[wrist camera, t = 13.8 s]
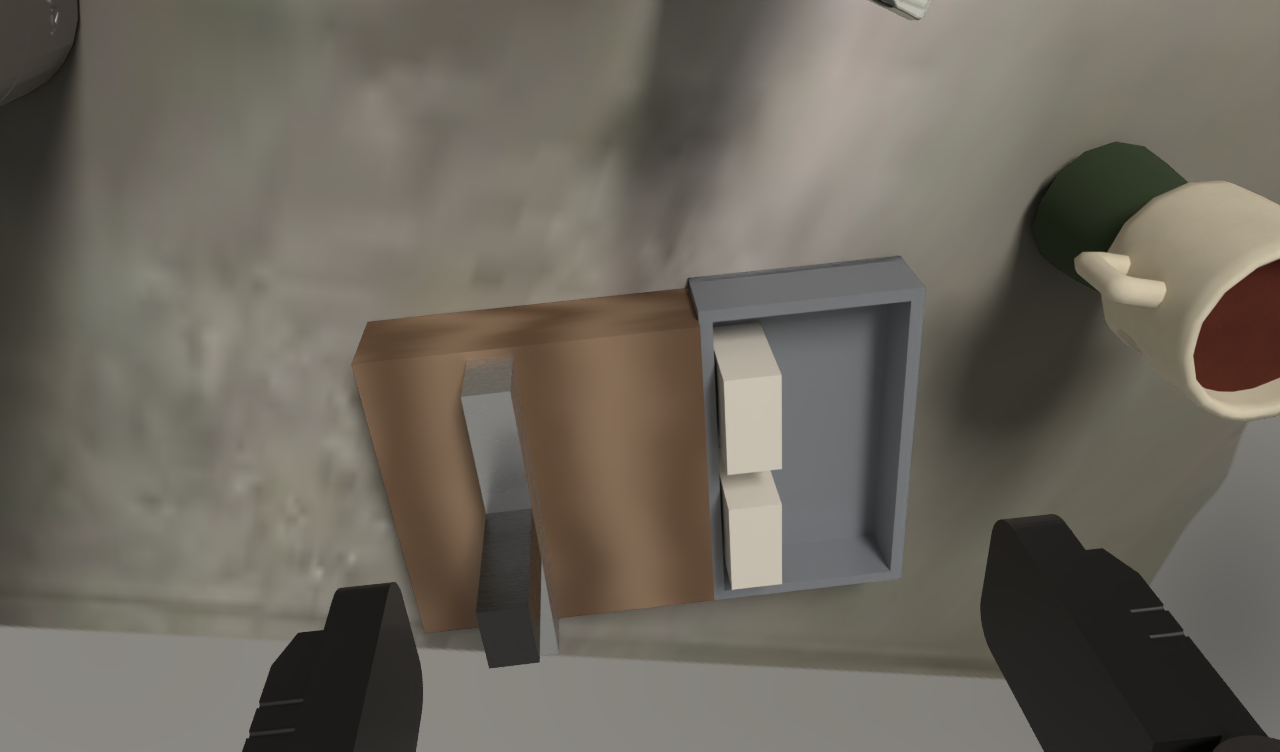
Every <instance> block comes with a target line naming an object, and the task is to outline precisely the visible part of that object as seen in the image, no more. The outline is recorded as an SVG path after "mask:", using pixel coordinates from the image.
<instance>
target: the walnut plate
mask: <svg viewBox="0 0 1280 752" xmlns="http://www.w3.org/2000/svg"><path fill="white" fill-rule="evenodd" d="M512 355H513V357H514V363H515V368H516V374H517V380H518V385H519V391H520V396H521V402H522V407H523V413H524V418H525V424H526V430H527V435H528V441H529V446H530V452H531V457H532V463H533V468H534V474H535V480H536V485H537V491H538V496H539V502H540V507H541V513H542V519H543V524H544V530H545V535H546V541H547V546H548V552H549V557H550V563H551V569H552V574H553V580H554V585H555V591H556V596H557V602H558V607H559V618H564V617H572V616H581V615H590V614H598V613H607V612H616V611H624V610H633V609H642V608H650V607H659V606H668V605H677V604H685V603H694V602H703V601H711V600H714V581H713V562H712V543H711V524H710V505H709V485H708V466H707V447H706V428H705V409H704V390H703V370H702V351H701V332H700V324H699V321H698V318H697V314H696V311H695V307H694V304H693V301H692V297H691V294H690V290H689V288H684V289H675V290H665V291H656V292H646V293H637V294H627V295H618V296H609V297H599V298H590V299H580V300H571V301H561V302H552V303H542V304H533V305H524V306H514V307H505V308H495V309H486V310H476V311H467V312H458V313H448V314H439V315H429V316H420V317H410V318H401V319H391V320H382V321H373V322H368V323H367V325H366V328H365V330H364V333H363V335H362V338H361V341H360V343H359V346H358V348H357V351H356V354H355V356H354V359H353V361H352V364H351V365H352V369H353V372H354V376H355V380H356V383H357V387H358V391H359V394H360V398H361V402H362V405H363V409H364V413H365V416H366V420H367V423H368V427H369V431H370V434H371V438H372V442H373V445H374V449H375V453H376V456H377V460H378V464H379V467H380V471H381V475H382V478H383V482H384V485H385V489H386V493H387V496H388V500H389V504H390V507H391V511H392V515H393V518H394V522H395V526H396V529H397V533H398V536H399V540H400V544H401V547H402V551H403V555H404V558H405V562H406V566H407V569H408V573H409V577H410V580H411V584H412V588H413V591H414V595H415V598H416V602H417V606H418V609H419V613H420V617H421V620H422V624H423V628H424V631H425V633H434V632H442V631H451V630H460V629H468V628H477V627H479V624H478V620H477V616H476V607H477V598H478V588H479V578H480V569H481V559H482V549H483V539H484V530H485V520H486V511H485V506H484V502H483V497H482V492H481V488H480V483H479V479H478V474H477V469H476V465H475V460H474V456H473V451H472V447H471V442H470V437H469V433H468V428H467V424H466V419H465V415H464V410H463V405H462V401H461V392H462V386H463V380H464V374H465V369H466V363H467V361H468V360H477V359H486V358H495V357H503V356H512Z"/></svg>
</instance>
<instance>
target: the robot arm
mask: <svg viewBox="0 0 1280 752" xmlns="http://www.w3.org/2000/svg"><path fill="white" fill-rule="evenodd" d="M77 21H78V9H77V0H0V107H1V106H3V105H5V104H7V103H9V102H11V101H13V100H15V99H17V98H19V97H21V96H23V95H25V94H27V93H29V92H31V91H33V90H34V89H36V88H37V87H39V86H40V85H42V84H43V83H45V82H47V81H48V80H49V79H50V78H51V77H52V76H53V75H54V74H55V73H56V71H57V70H58V69H59V68H60V67H61V66H62V65H63V63H64V62H65V60H66V57H67V55H68V53H69V51H70V49H71V47H72V45H73V42H74V37H75V32H76V26H77ZM980 611H981V622H982V627H983V631H984V635H985V638H986V642H987V644H988V647H989V649H990V651H991V653H992V655H993V657H994V658H995V660H996V662H997V664H998V666H999V668H1000V670H1001V672H1002V673H1003V675H1004V677H1005V679H1006V681H1007V683H1008V685H1009V686H1010V688H1011V690H1012V692H1013V694H1014V696H1015V698H1016V700H1017V701H1018V703H1019V705H1020V707H1021V709H1022V711H1023V713H1024V715H1025V717H1026V718H1027V720H1028V722H1029V724H1030V726H1031V728H1032V730H1033V732H1034V734H1035V735H1036V737H1037V739H1038V741H1039V743H1040V745H1041V746H1042V749H1043V750H1044V752H1280V740H1279V739H1275V738H1270V737H1268V736H1267V735H1266V733H1265V732H1264V731H1263V730H1262V729H1261V727H1260V726H1259V725H1258V724H1257V722H1256V721H1255V720H1254V719H1253V717H1252V716H1251V715H1250V713H1249V712H1248V711H1247V710H1246V708H1245V707H1244V706H1243V705H1242V703H1241V702H1240V701H1239V699H1238V698H1237V697H1236V696H1235V695H1234V693H1233V692H1232V691H1231V689H1230V688H1229V687H1228V686H1227V684H1226V683H1225V682H1224V681H1223V679H1222V678H1221V677H1220V675H1219V674H1218V673H1217V672H1216V671H1215V669H1214V668H1213V667H1212V665H1211V664H1210V663H1209V661H1208V660H1207V659H1206V658H1205V657H1204V655H1203V654H1202V653H1201V651H1200V650H1199V649H1198V648H1197V646H1196V645H1195V644H1194V643H1193V641H1192V640H1191V639H1190V637H1185V635H1184V633H1183V629H1182V627H1181V626H1180V625H1179V624H1178V622H1177V621H1176V620H1175V619H1174V617H1173V616H1172V615H1171V614H1170V612H1169V611H1165V610H1164V608H1163V603H1162V602H1161V601H1160V600H1159V598H1158V597H1157V596H1156V594H1155V593H1154V592H1153V591H1152V589H1151V588H1150V587H1149V586H1148V584H1147V583H1146V582H1145V580H1144V579H1143V578H1142V577H1141V575H1140V574H1139V573H1138V572H1136V571H1135V570H1133V569H1132V568H1130V567H1129V566H1127V565H1126V564H1125V563H1123V562H1122V561H1120V560H1119V559H1117V558H1116V557H1114V556H1113V555H1112V554H1110V553H1109V552H1107V551H1106V550H1104V549H1103V548H1100V549H1091V550H1085V549H1084V547H1083V546H1082V544H1081V543H1080V542H1079V540H1078V539H1077V538H1076V536H1075V535H1074V534H1073V532H1072V531H1071V530H1070V528H1069V527H1068V526H1067V524H1066V523H1065V522H1064V521H1063V519H1062V518H1060V517H1059V516H1057V515H1055V514H1049V515H1039V516H1030V517H1021V518H1011V519H1002V520H998V521H997V522H996V523H995V525H994V527H993V530H992V535H991V541H990V547H989V553H988V559H987V566H986V572H985V578H984V584H983V590H982V597H981V605H980ZM259 703H260V707H259V708H257V709H256V712H255V715H254V718H253V721H252V724H251V727H250V730H249V732H250V736H249V738H247V739H246V742H245V745H244V748H243V751H242V752H416V747H417V740H418V733H419V727H420V720H421V714H422V704H423V682H422V671H421V665H420V660H419V656H418V653H417V649H416V645H415V642H414V638H413V634H412V630H411V627H410V623H409V619H408V616H407V612H406V608H405V604H404V601H403V597H402V593H401V590H400V588H399V586H398V584H397V583H396V582H391V583H382V584H372V585H363V586H354V587H344V588H339V589H338V590H337V591H336V592H335V594H334V597H333V600H332V603H331V607H330V610H329V613H328V617H327V620H326V624H325V627H324V630H320V631H311V632H301V633H298V634H297V635H296V636H295V637H294V639H293V640H292V641H291V642H290V643H289V645H288V646H287V647H286V648H285V650H284V651H283V652H282V653H281V655H280V656H279V657H278V658H277V659H276V661H275V662H274V663H273V665H272V666H271V668H270V671H269V674H268V677H267V681H266V683H265V686H264V689H263V692H262V695H261V698H260V701H259Z"/></svg>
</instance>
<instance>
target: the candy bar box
mask: <svg viewBox="0 0 1280 752" xmlns="http://www.w3.org/2000/svg"><path fill="white" fill-rule="evenodd" d="M869 1H871V2H873V3H875V4H877V5H879V6H881V7H884V8H886V9H888V10H890V11H892V12H894V13H896V14H898V15H900V16H902V17H904V18H906V19H908V20H920V19H922V18H923V16H924V14H925V13H926V11H927V9H928V7H929V5H930V3H931V1H932V0H869Z"/></svg>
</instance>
